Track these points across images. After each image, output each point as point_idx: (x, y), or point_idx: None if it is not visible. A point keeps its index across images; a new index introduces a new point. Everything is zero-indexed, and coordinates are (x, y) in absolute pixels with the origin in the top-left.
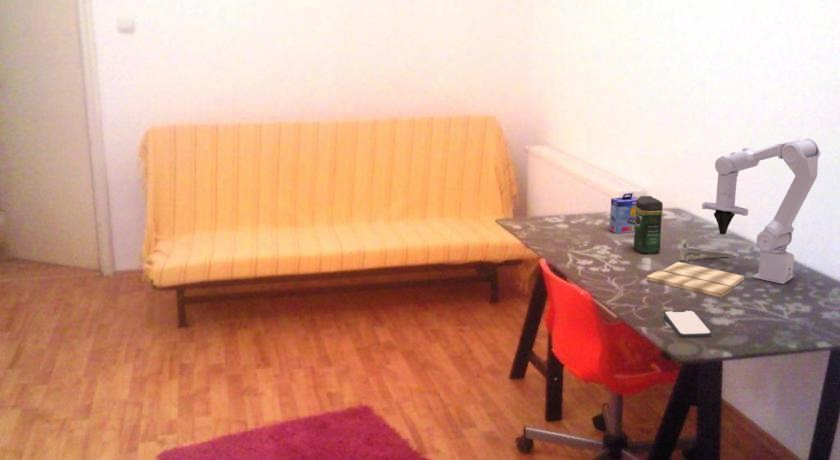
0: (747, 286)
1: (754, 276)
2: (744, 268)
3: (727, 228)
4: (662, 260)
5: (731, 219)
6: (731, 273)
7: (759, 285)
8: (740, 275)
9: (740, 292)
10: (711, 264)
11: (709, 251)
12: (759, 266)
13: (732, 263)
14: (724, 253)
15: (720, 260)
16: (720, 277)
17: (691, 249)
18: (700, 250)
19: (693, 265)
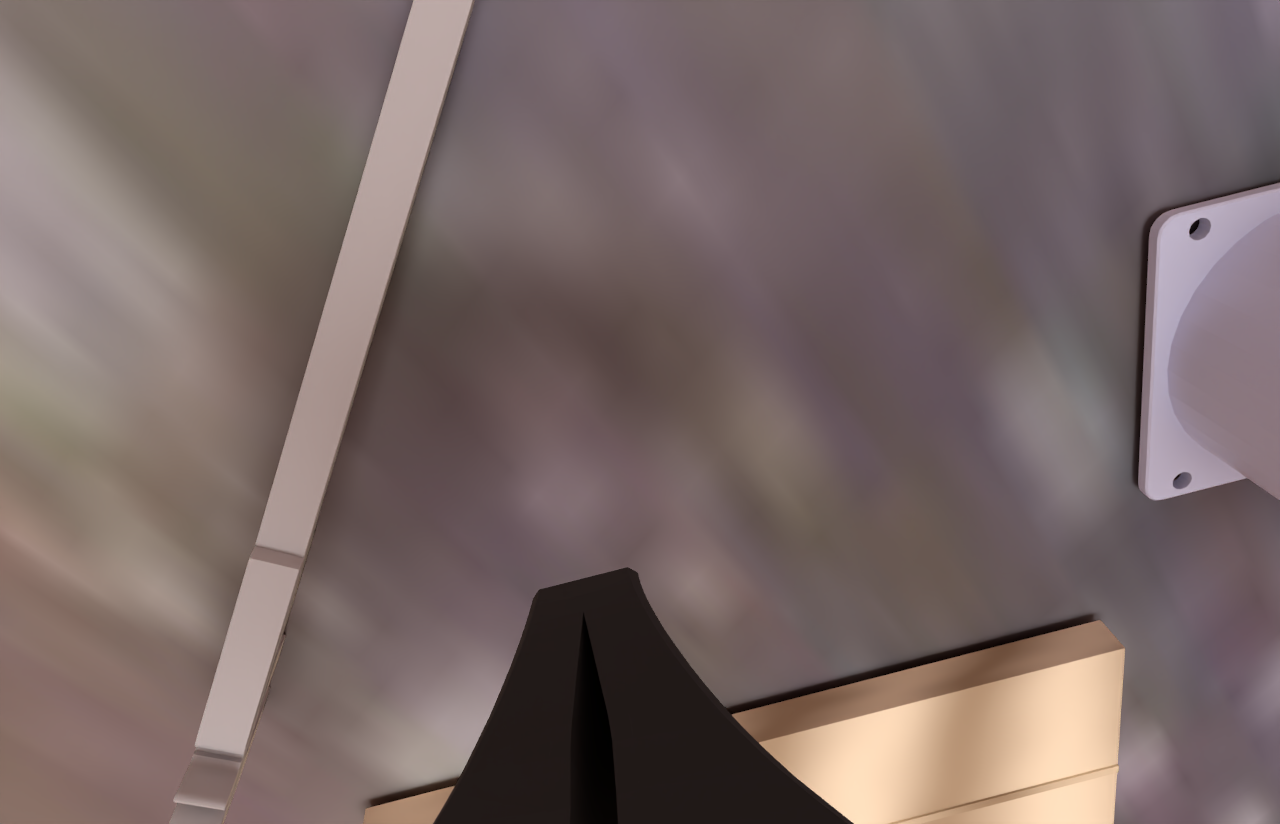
0: (1181, 693)
1: (1164, 497)
2: (910, 295)
3: (663, 629)
4: (110, 803)
5: (819, 814)
6: (987, 687)
7: (1262, 598)
8: (1087, 665)
9: (1186, 821)
10: (542, 494)
11: (343, 418)
12: (1272, 492)
13: (685, 250)
14: (429, 141)
15: (493, 276)
16: (955, 817)
17: (257, 708)
18: (298, 569)
19: None
